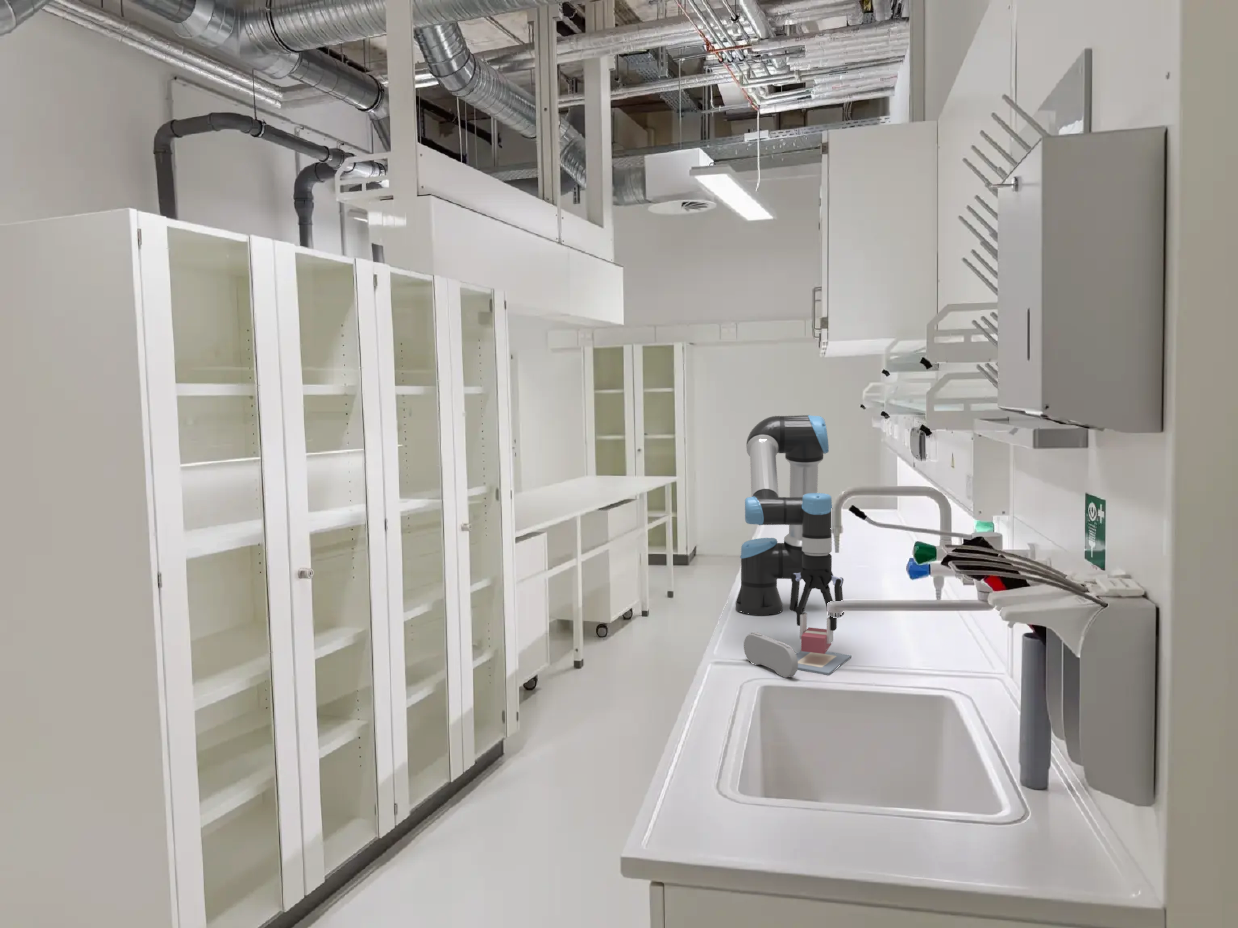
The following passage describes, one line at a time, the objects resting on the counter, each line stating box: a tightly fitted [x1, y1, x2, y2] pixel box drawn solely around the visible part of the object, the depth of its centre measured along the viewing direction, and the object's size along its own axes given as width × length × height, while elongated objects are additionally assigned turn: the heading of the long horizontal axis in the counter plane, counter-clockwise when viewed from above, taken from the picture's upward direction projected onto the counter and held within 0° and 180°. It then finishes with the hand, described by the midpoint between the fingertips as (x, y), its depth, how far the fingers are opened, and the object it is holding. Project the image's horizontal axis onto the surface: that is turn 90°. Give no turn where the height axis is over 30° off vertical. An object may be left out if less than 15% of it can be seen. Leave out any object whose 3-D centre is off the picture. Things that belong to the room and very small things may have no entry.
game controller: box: [743, 632, 798, 678], centre depth 212 cm, size 20×2×8 cm, turn 29°
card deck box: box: [800, 627, 832, 654], centre depth 217 cm, size 6×9×4 cm, turn 155°
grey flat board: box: [795, 650, 852, 676], centre depth 217 cm, size 17×13×1 cm
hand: (816, 640), depth 217 cm, fingers closed on card deck box, 6 cm apart
